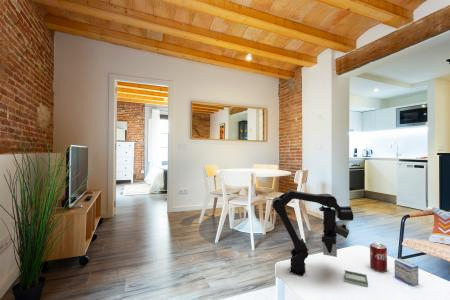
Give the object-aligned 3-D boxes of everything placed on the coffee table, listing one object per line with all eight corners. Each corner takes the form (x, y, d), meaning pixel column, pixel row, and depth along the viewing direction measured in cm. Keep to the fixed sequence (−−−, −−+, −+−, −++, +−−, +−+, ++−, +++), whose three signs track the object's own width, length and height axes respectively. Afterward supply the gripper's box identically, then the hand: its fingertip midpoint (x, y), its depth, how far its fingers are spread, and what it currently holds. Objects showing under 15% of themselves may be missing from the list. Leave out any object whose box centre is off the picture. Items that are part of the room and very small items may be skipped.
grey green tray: (344, 281, 105) (344, 277, 105) (344, 274, 112) (344, 270, 112) (368, 287, 101) (367, 282, 101) (366, 278, 108) (366, 274, 108)
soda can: (390, 270, 114) (390, 247, 114) (380, 273, 112) (380, 249, 112) (376, 264, 121) (376, 241, 121) (366, 266, 118) (366, 244, 119)
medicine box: (394, 277, 109) (393, 259, 109) (400, 275, 110) (400, 257, 110) (412, 286, 101) (412, 267, 101) (419, 284, 103) (418, 265, 103)
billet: (323, 254, 112) (323, 240, 112) (323, 251, 116) (323, 237, 116) (336, 257, 109) (336, 242, 109) (336, 253, 113) (336, 239, 113)
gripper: (348, 227, 101) (348, 262, 100) (347, 216, 117) (347, 246, 117) (321, 224, 106) (321, 257, 106) (324, 214, 122) (324, 243, 122)
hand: (330, 251), depth 112 cm, fingers closed on billet, 4 cm apart
